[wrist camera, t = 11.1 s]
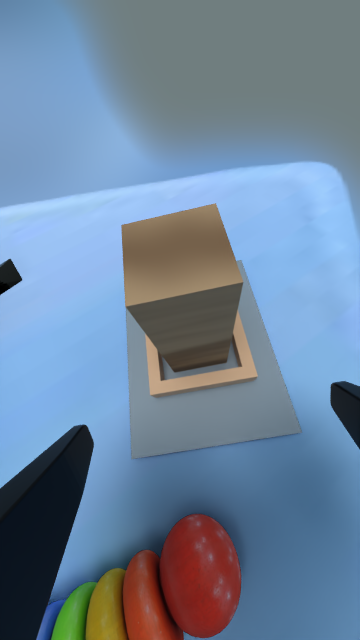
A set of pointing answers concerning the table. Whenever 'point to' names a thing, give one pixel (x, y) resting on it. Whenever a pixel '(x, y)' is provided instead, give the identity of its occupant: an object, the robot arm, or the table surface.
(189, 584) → the stacking toy
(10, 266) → the black block on base
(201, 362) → the walnut pillar
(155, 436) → the grey board with frame
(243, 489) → the table surface
